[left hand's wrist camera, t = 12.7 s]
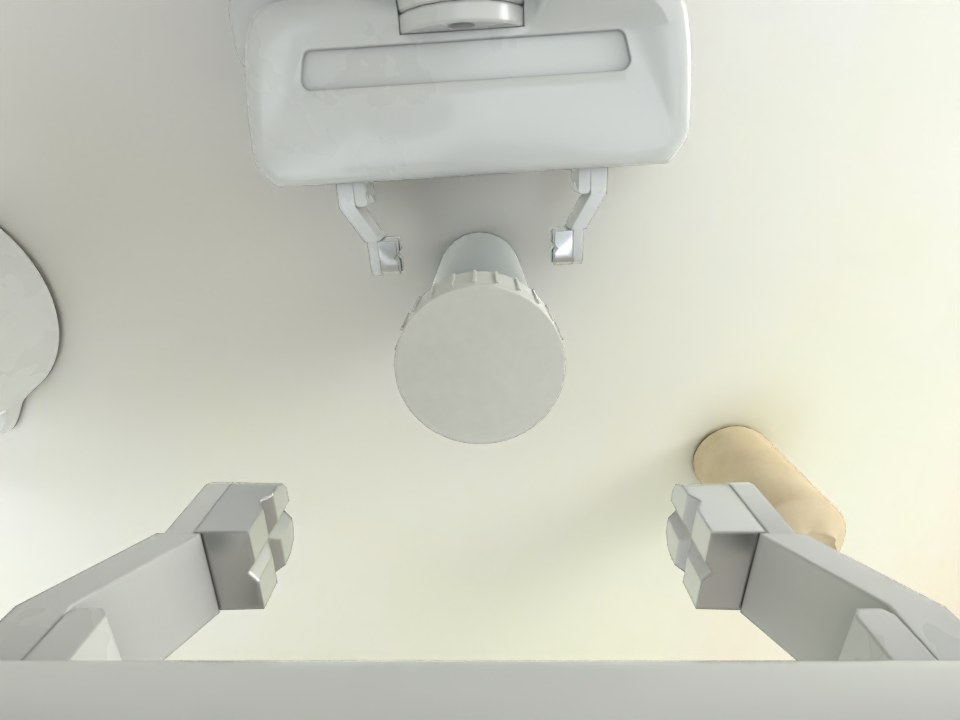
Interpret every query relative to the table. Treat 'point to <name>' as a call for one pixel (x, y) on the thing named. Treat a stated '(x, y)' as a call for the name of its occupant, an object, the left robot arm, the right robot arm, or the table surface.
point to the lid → (480, 358)
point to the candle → (769, 481)
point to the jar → (479, 257)
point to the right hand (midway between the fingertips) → (477, 267)
